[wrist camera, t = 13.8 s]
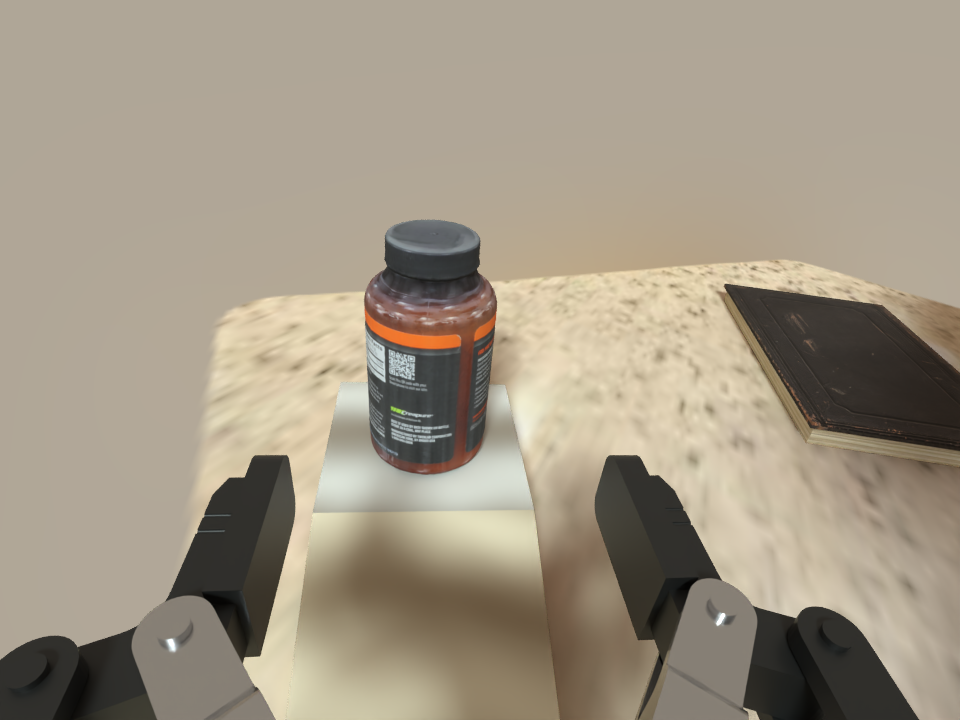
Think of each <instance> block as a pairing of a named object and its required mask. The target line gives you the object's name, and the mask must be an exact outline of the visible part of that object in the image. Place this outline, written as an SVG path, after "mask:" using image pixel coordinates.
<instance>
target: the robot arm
mask: <svg viewBox="0 0 960 720" xmlns="http://www.w3.org/2000/svg"><path fill="white" fill-rule="evenodd" d="M595 514H596V519H597V522H598V525H599V528H600V531H601V534H602V536H603V539H604V542H605V545H606V548H607V551H608V554H609V557H610V560H611V563H612V566H613V569H614V571H615V574H616V577H617V580H618V583H619V586H620V589H621V592H622V595H623V598H624V601H625V604H626V606H627V609H628V612H629V615H630V618H631V621H632V624H633V627H634V630H635V633H636V636H637V638H638V640H653V639H654V640H655V642H656V645H657V648H658V650H659V652H658V654H657V657H656V659H655V662H654V665H653V668H652V671H651V674H650V677H649V680H648V683H647V686H646V689H645V692H644V695H643V698H642V701H641V704H640V706H639V709H638V712H637V715H636V718H635V720H749V715H748V712H747V711H745V710H744V709H743V707H744V708H748V709H751V710H754V711H756V712H757V715H758V717H759V719H760V720H919V719H918V718H917V716H916V714H915V713H914V711H913V710H912V708H911V707H910V705H909V704H908V702H907V701H906V699H905V698H904V696H903V694H902V693H901V691H900V690H899V688H898V687H897V685H896V684H895V682H894V681H893V679H892V678H891V676H890V674H889V673H888V671H887V670H886V668H885V667H884V665H883V664H882V662H881V661H880V659H879V657H878V656H877V654H876V653H875V651H874V650H873V648H872V647H871V645H870V644H869V642H868V641H867V639H866V638H865V636H864V635H863V634H862V632H861V631H860V630H859V629H858V628H857V627H856V626H855V625H854V624H853V623H852V622H850V621H849V620H848V619H846V618H845V617H843V616H842V615H840V614H838V613H836V612H834V611H832V610H830V609H827V608H823V607H808V608H805V609H804V610H802V611H801V612H800V614H799V615H798V616H797V618H793V617H789V616H786V615H782V614H778V613H775V612H771V611H767V610H764V609H760V608H757V607H755V606H753V605H752V604H751V603H750V601H749V600H748V599H747V598H746V596H745V595H744V594H743V593H742V592H740V591H739V590H738V589H737V588H735V587H734V586H732V585H730V584H729V583H726V582H724V581H722V580H721V578H720V576H719V574H718V573H717V571H716V569H715V567H714V565H713V563H712V561H711V559H710V557H709V555H708V554H707V552H706V550H705V548H704V546H703V544H702V542H701V540H700V538H699V536H698V535H697V533H696V531H695V529H694V527H693V525H691V521H690V519H689V517H688V516H687V514H686V512H685V511H683V506H682V504H681V502H680V500H679V498H678V497H677V495H676V493H675V491H674V490H673V489H672V488H671V487H670V486H669V485H668V484H667V483H666V482H665V481H664V480H663V479H662V478H661V477H660V476H659V475H655V476H649V474H648V472H647V470H646V468H645V466H644V464H643V461H642V460H641V458H640V457H639V456H637V455H610V456H608V457H607V459H606V461H605V465H604V468H603V472H602V475H601V478H600V482H599V485H598V489H597V492H596V496H595ZM294 517H295V495H294V488H293V482H292V475H291V469H290V463H289V458H288V456H287V455H255V456H254V457H253V458H252V460H251V463H250V465H249V468H248V470H247V473H246V476H245V478H229V479H228V480H227V481H226V482H225V483H224V484H223V485H222V486H221V487H220V488H219V489H218V490H217V491H216V492H215V493H214V494H213V495H212V497H211V500H210V502H209V504H208V507H207V509H206V511H205V515H204V518H202V521H201V523H200V525H199V528H198V532H197V534H195V537H194V539H193V541H192V544H191V546H190V548H189V551H188V553H187V555H186V558H185V560H184V562H183V564H182V567H181V569H180V571H179V574H178V576H177V578H176V581H175V583H174V585H173V588H172V590H171V592H170V594H169V596H168V598H167V599H166V601H165V602H164V603H162V604H160V605H159V606H157V607H156V608H154V609H153V610H152V611H151V612H149V613H148V614H147V615H146V616H145V617H144V619H143V620H142V621H141V622H140V624H139V625H138V626H136V627H134V628H132V629H130V630H128V631H126V632H123V633H121V634H117V635H114V636H111V637H108V638H105V639H102V640H99V641H95V642H92V643H89V644H86V645H83V646H80V647H77V646H76V644H75V643H74V642H73V641H72V640H70V639H69V638H66V637H62V636H48V637H42V638H38V639H35V640H32V641H30V642H27V643H25V644H24V645H21V646H20V647H18V648H16V649H15V650H13V651H12V652H10V653H9V654H7V655H6V656H5V657H4V658H2V659H1V660H0V720H275V718H274V716H273V714H272V712H271V710H270V708H269V706H268V704H267V702H266V701H265V699H264V697H263V695H262V694H261V692H260V690H259V689H258V688H257V687H255V686H254V684H253V683H252V681H251V679H250V677H249V675H248V673H247V671H246V670H245V668H244V666H243V661H244V657H256V656H260V655H261V651H262V647H263V643H264V639H265V635H266V631H267V627H268V623H269V619H270V615H271V611H272V607H273V603H274V599H275V595H276V591H277V587H278V583H279V580H280V576H281V572H282V568H283V564H284V560H285V556H286V552H287V548H288V544H289V540H290V536H291V532H292V528H293V523H294Z"/></svg>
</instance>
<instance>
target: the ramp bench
mask: <svg viewBox="0 0 960 720" xmlns="http://www.w3.org/2000/svg"><path fill="white" fill-rule="evenodd" d="M369 416H370V415H369V396H368V382H341V383H340V388H339V393H338V397H337V402H336V407H335V411H334V416H333V421H332V425H331V430H330V435H329V439H328V444H327V449H326V453H325V458H324V463H323V467H322V472H321V477H320V481H319V486H318V491H317V495H316V500H315V505H314V509H313V515H312V522H311V530H310V537H309V545H308V553H307V560H306V568H305V575H304V583H303V590H302V598H301V606H300V613H299V621H298V628H297V636H296V644H295V651H294V659H293V666H292V674H291V681H290V689H289V697H288V704H287V712H286V719H285V720H560V716H559V708H558V700H557V692H556V684H555V676H554V667H553V659H552V651H551V643H550V635H549V627H548V619H547V610H546V602H545V594H544V586H543V578H542V570H541V561H540V553H539V545H538V537H537V529H536V521H535V512H534V507H533V503H532V498H531V494H530V490H529V486H528V481H527V477H526V473H525V468H524V464H523V460H522V455H521V451H520V447H519V442H518V438H517V434H516V430H515V425H514V421H513V417H512V412H511V408H510V404H509V399H508V395H507V391H506V387H505V385H495V384H489V390H488V400H487V411H486V420H485V429H484V434H483V440H482V444H481V446H480V449H479V450H478V452H477V453H476V455H475V456H474V457H473V458H472V459H471V460H470V461H469V462H467V463H466V464H464V465H462V466H461V467H459V468H457V469H454V470H451V471H448V472H444V473H440V474H428V475H422V474H416V473H409V472H406V471H402V470H399V469H397V468H395V467H393V466H391V465H389V464H388V463H387V462H385V461H384V460H383V459H381V457H380V456H379V455H378V454H377V453H376V451H375V449H374V447H373V444H372V441H371V434H370V421H369Z"/></svg>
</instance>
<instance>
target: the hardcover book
mask: <svg viewBox="0 0 960 720" xmlns="http://www.w3.org/2000/svg"><path fill="white" fill-rule="evenodd" d="M724 287H725V289H726V291H727V294H726V296H725V299H724V301H725V303H726V305H727V307H728V308H729V310H730V312H731V314H732V315H733V317H734V319H735V320H736V322H737V324H738V326H739V327H740V329H741V331H742V333H743V334H744V336H745V338H746V340H747V341H748V343H749V345H750V347H751V348H752V350H753V352H754V354H755V355H756V357H757V359H758V360H759V362H760V364H761V366H762V367H763V369H764V371H765V373H766V374H767V376H768V378H769V380H770V381H771V383H772V385H773V387H774V388H775V390H776V392H777V394H778V395H779V397H780V399H781V400H782V402H783V404H784V406H785V407H786V409H787V411H788V413H789V414H790V416H791V418H792V420H793V421H794V423H795V425H796V427H797V428H798V430H799V432H800V434H801V435H802V437H803V439H804V440H805V442H806V443H810V444H816V445H823V446H829V447H835V448H842V449H848V450H854V451H861V452H867V453H873V454H880V455H886V456H892V457H899V458H905V459H911V460H918V461H924V462H930V463H937V464H943V465H949V466H956V467H960V373H959V372H958V371H957V370H956V369H955V368H954V367H953V366H951V365H950V364H949V363H948V362H947V361H946V360H945V359H943V358H942V357H941V356H940V355H939V354H938V353H936V352H935V351H934V350H933V349H932V348H931V347H930V346H928V345H927V344H926V343H925V342H924V341H923V340H922V339H920V338H919V337H918V336H917V335H916V334H915V333H914V332H912V331H911V330H910V329H909V328H908V327H907V326H906V325H904V324H903V323H902V322H901V321H900V320H899V319H897V318H896V317H895V316H894V315H893V314H892V313H891V312H889V311H888V310H887V309H886V308H885V307H884V306H882V305H877V304H870V303H862V302H855V301H848V300H840V299H833V298H826V297H818V296H811V295H804V294H796V293H789V292H782V291H774V290H767V289H760V288H753V287H745V286H738V285H731V284H725V285H724Z"/></svg>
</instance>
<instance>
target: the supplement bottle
mask: <svg viewBox="0 0 960 720" xmlns="http://www.w3.org/2000/svg"><path fill="white" fill-rule="evenodd" d="M479 250H480V238H479V236H478V234H477V233H476V232H475V231H473V230H471V229H470V228H468V227H466V226H464V225H461V224H457V223H453V222H447V221H441V220H414V221H408V222H402V223H399V224H396V225H394V226H392V227H391V228H390V229H389V230H388V231H387V233H386V235H385V261H386V264H387V267H386V269H385V270H383V271H381V272H380V273H378V274H377V275H376V276H375V277H374V278H373V279H372V280H371V281H370V283H369V284H368V287H367V289H366V292H365V299H364V305H365V329H366V350H367V371H368V372H367V374H368V396H369V415H370V416H369V421H370V434H371V441H372V444H373V447H374V449H375V451H376V453H377V454H378V455H379V456H380V457H381V459H383V460H384V461H385V462H387V463H388V464H389V465H391V466H393V467H395V468H397V469H399V470H402V471H406V472H409V473H416V474H422V475H428V474H440V473H444V472H448V471H451V470H454V469H457V468H459V467H461V466H462V465H464V464H466V463H467V462H469V461H470V460H471V459H472V458H473V457H474V456H475V455H476V453H477V452H478V450H479V449H480V446H481V444H482V440H483V434H484V429H485V420H486V411H487V400H488V390H489V381H490V371H491V361H492V352H493V342H494V331H495V321H496V311H497V300H496V295H495V291H494V290H493V288H492V286H491V285H490V283H489V282H488V280H486V279H485V278H484V277H483V276H482V275H480V274H479V273H478V271H477V268H478V267H479V265H480V260H479V254H480V253H479Z"/></svg>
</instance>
